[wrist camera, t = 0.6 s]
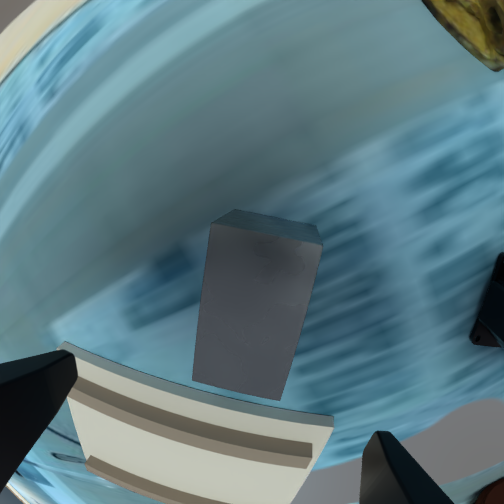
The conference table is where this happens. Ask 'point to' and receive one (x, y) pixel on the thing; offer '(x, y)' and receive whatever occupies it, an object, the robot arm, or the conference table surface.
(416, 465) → the robot arm
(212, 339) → the block
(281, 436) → the plate
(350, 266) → the conference table surface
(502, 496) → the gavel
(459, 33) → the seal
